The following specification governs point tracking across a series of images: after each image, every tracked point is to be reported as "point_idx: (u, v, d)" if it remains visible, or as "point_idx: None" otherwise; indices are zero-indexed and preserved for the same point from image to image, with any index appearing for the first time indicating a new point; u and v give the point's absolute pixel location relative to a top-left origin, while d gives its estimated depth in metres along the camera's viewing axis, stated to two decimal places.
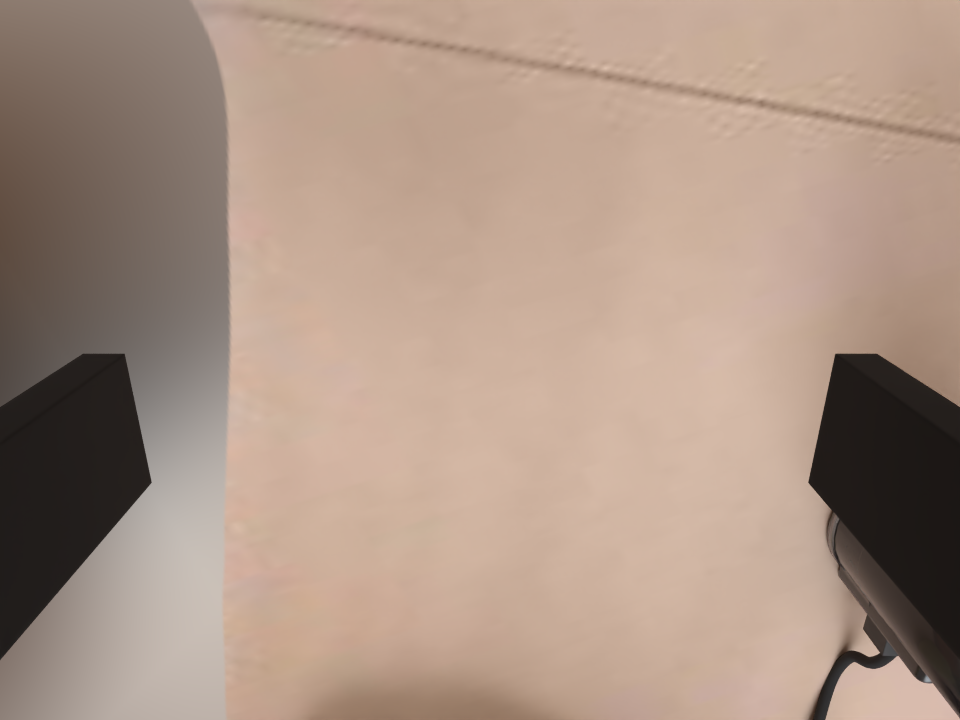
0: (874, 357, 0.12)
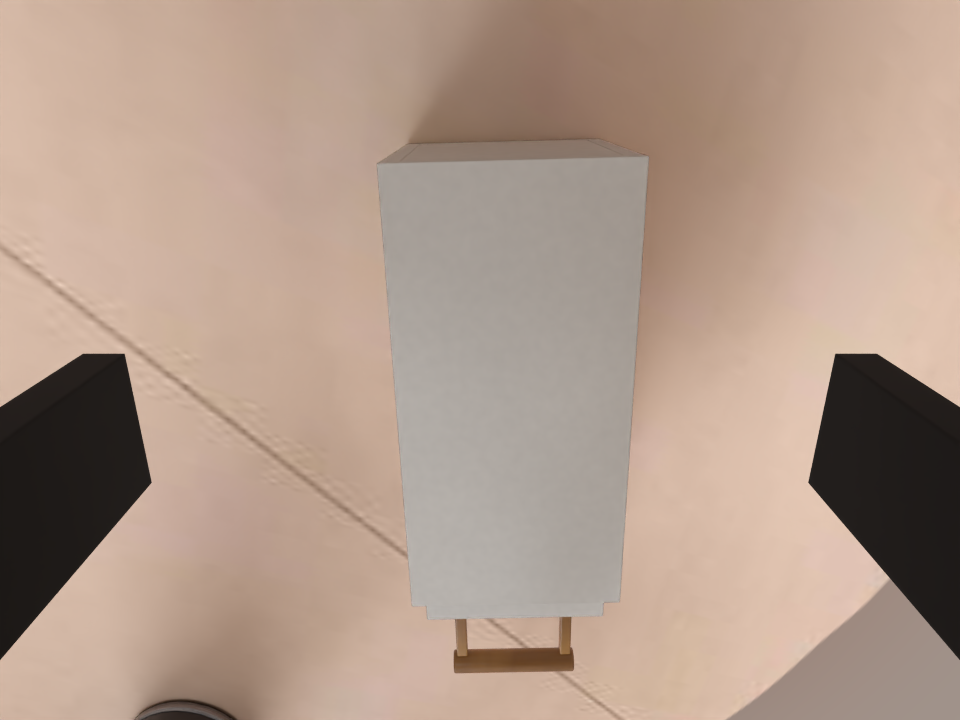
0: (875, 357, 0.12)
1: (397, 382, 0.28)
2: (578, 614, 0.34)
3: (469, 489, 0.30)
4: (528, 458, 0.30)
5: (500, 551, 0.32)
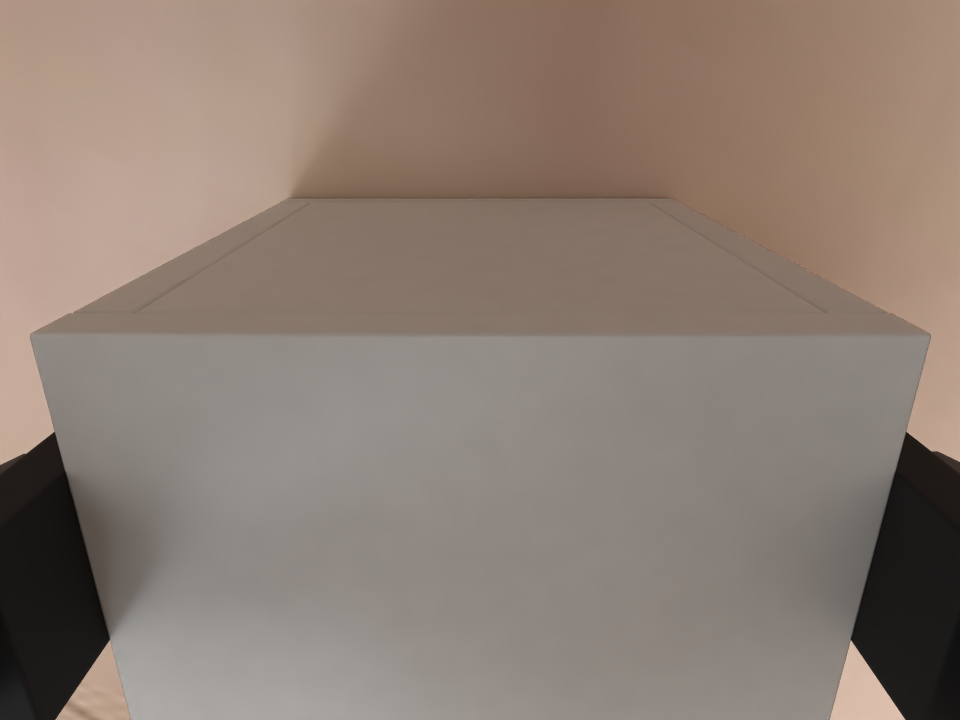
0: None
1: None
2: None
3: None
4: None
5: None
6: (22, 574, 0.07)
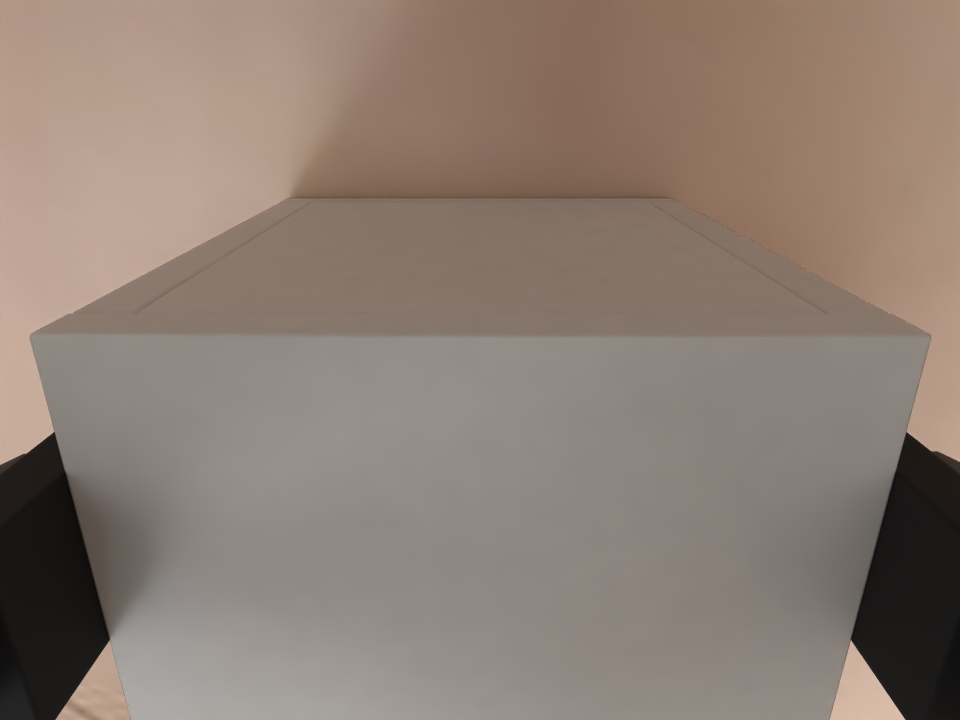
0: None
1: None
2: None
3: None
4: None
5: None
6: (22, 574, 0.07)
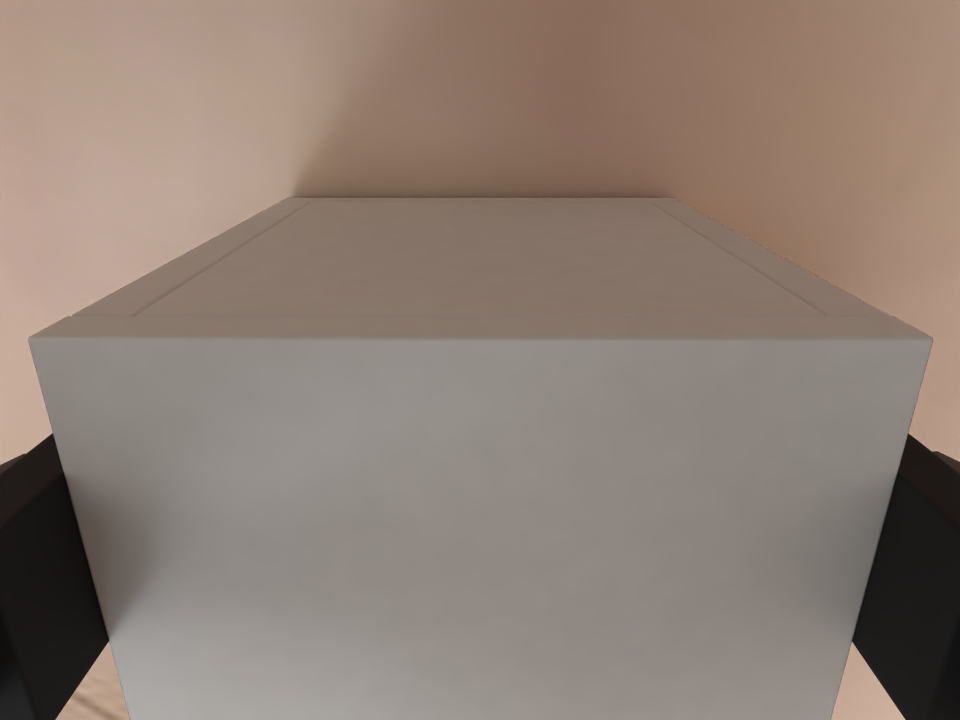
0: None
1: None
2: None
3: None
4: None
5: None
6: (22, 574, 0.07)
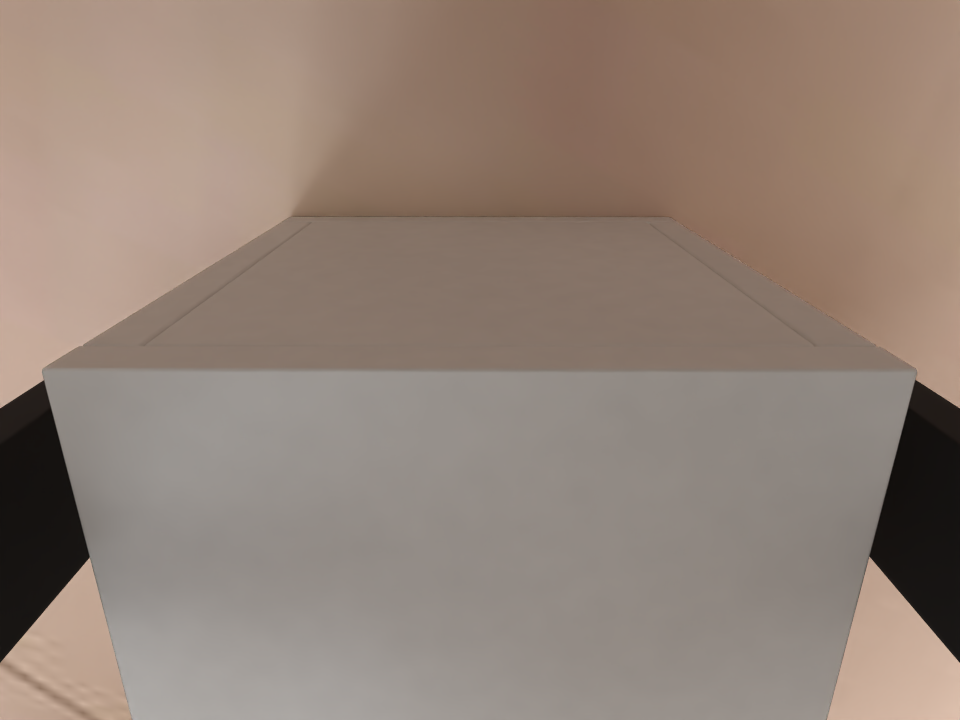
0: None
1: None
2: None
3: None
4: None
5: None
6: None
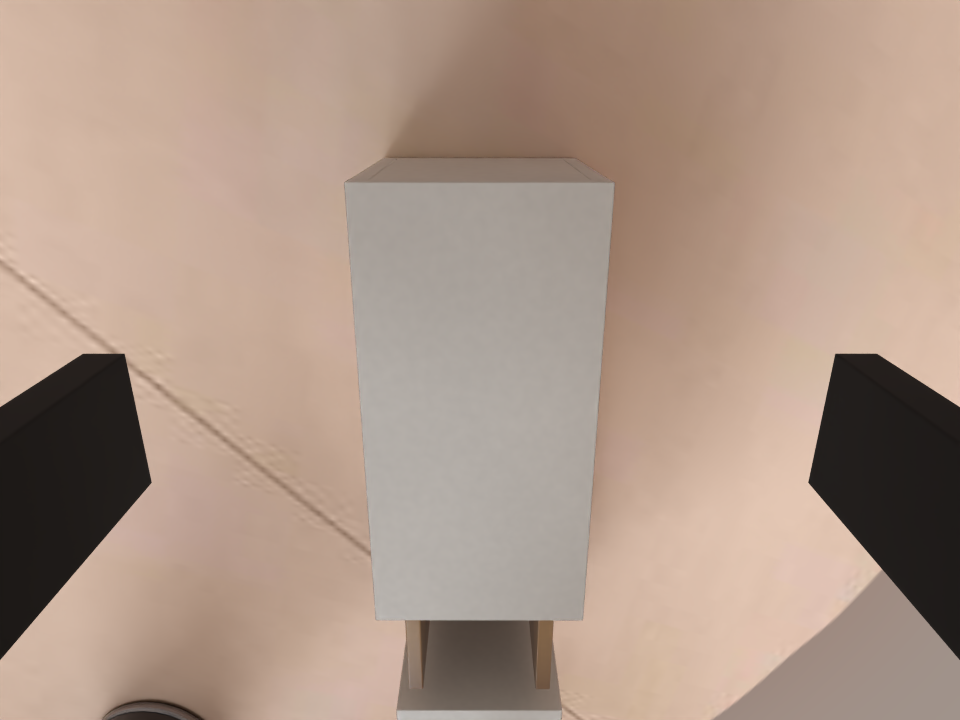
0: (874, 357, 0.12)
1: (363, 398, 0.29)
2: None
3: (434, 505, 0.31)
4: (493, 476, 0.30)
5: (464, 567, 0.32)
6: None
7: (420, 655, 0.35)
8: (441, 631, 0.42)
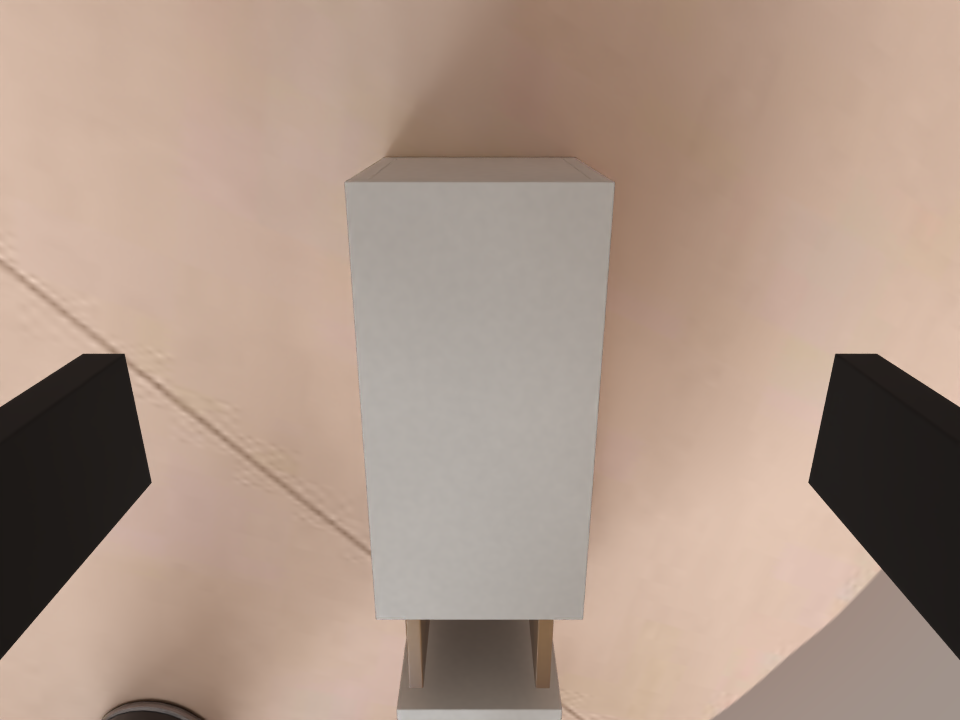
0: (875, 357, 0.12)
1: (363, 398, 0.29)
2: None
3: (434, 505, 0.31)
4: (493, 476, 0.30)
5: (464, 567, 0.32)
6: None
7: (420, 654, 0.35)
8: (441, 630, 0.42)
